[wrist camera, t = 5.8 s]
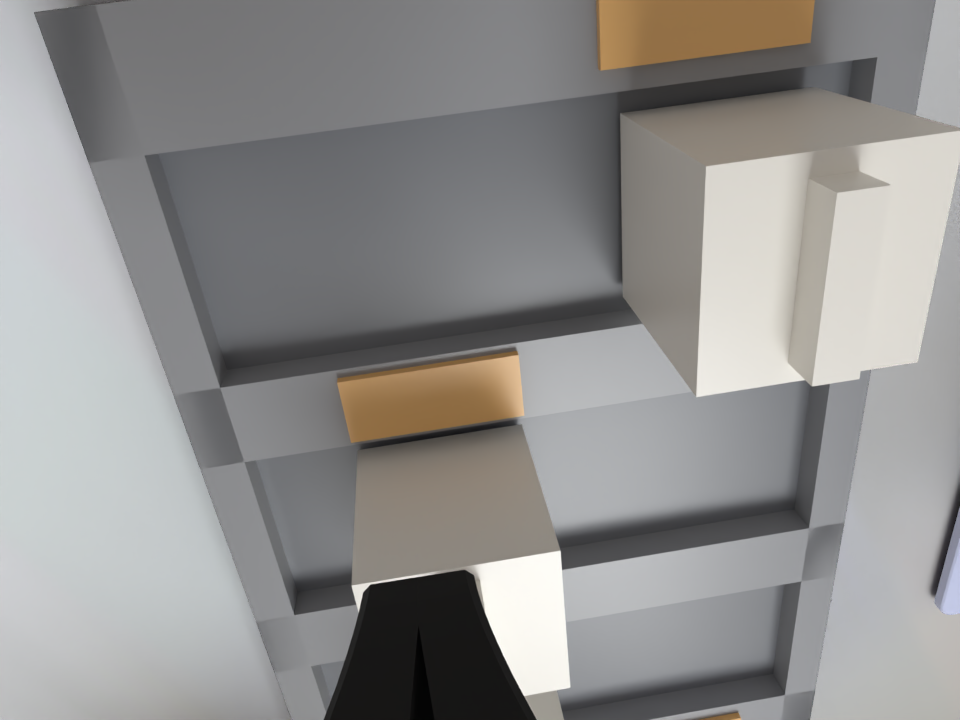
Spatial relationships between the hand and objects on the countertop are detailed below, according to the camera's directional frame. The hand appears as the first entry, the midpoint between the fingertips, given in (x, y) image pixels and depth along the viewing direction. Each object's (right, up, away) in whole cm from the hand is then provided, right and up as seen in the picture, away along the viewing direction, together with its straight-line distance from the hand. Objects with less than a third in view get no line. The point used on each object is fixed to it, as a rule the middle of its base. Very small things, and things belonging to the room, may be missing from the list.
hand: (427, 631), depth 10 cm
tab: (+6, +7, +6) cm, 11 cm away
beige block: (0, 0, +9) cm, 9 cm away
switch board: (+2, +1, +11) cm, 11 cm away
